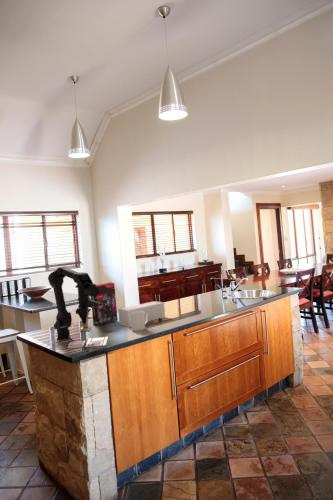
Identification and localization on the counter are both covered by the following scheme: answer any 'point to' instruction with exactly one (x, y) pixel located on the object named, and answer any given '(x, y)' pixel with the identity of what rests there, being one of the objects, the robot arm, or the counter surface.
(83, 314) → the robot arm
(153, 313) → the light grey long box
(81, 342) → the ink pad
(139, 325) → the mug
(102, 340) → the sheet
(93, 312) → the graphics card box
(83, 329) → the stamp
